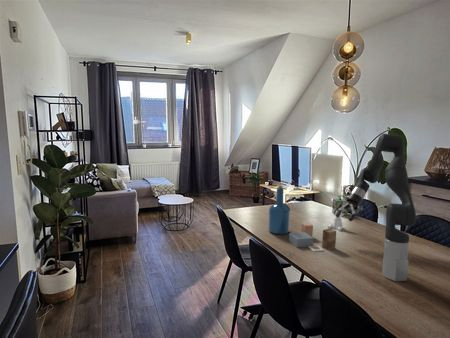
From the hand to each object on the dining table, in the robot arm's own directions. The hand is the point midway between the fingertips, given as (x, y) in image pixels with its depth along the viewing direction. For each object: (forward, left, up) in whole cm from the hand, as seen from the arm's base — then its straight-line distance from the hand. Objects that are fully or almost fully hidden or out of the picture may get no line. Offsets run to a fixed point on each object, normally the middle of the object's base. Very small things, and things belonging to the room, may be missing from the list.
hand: (343, 218), depth 173 cm
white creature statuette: (+26, -11, -15) cm, 32 cm away
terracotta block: (+13, +16, -15) cm, 25 cm away
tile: (-6, +19, -15) cm, 25 cm away
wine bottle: (+24, +30, -15) cm, 41 cm away
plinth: (+3, +24, -15) cm, 28 cm away
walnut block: (-5, +11, -15) cm, 19 cm away
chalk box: (+58, -31, -15) cm, 68 cm away
